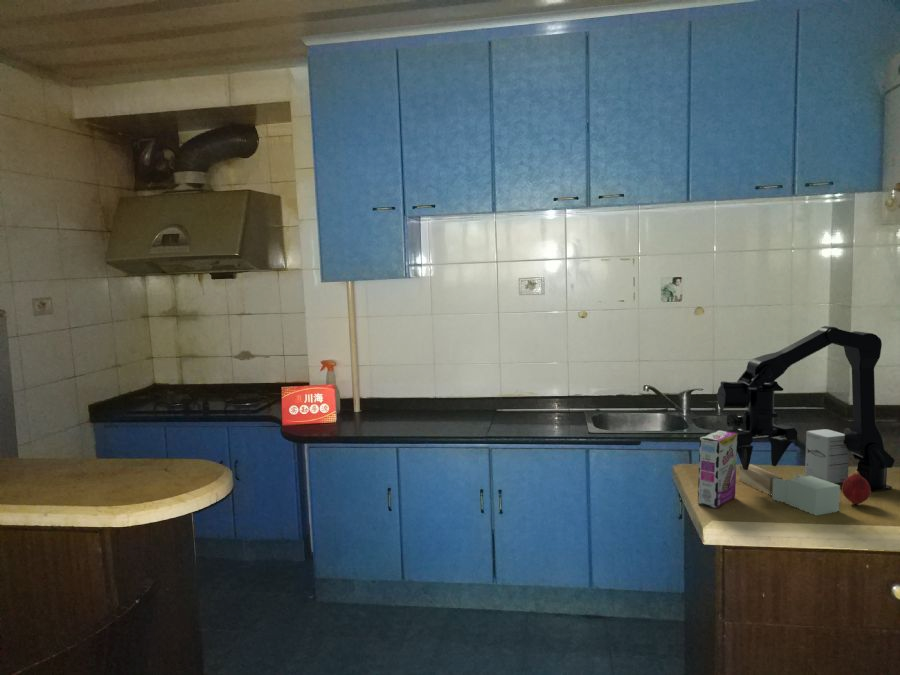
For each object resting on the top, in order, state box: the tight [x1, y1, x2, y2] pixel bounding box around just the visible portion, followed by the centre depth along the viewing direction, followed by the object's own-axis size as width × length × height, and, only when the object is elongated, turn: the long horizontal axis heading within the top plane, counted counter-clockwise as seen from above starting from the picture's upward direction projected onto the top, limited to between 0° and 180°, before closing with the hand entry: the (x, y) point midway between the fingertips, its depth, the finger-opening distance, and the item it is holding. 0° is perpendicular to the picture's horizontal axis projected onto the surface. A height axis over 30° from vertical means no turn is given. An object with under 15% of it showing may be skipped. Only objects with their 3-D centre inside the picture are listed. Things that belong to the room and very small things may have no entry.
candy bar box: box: [697, 430, 738, 509], centre depth 156 cm, size 11×5×16 cm, turn 134°
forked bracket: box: [771, 473, 841, 516], centre depth 152 cm, size 9×12×6 cm
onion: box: [841, 470, 872, 505], centre depth 152 cm, size 6×6×8 cm
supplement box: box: [804, 428, 850, 484], centre depth 171 cm, size 7×7×13 cm
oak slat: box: [738, 463, 783, 496], centre depth 166 cm, size 4×12×4 cm, turn 10°
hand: (759, 467), depth 165 cm, fingers open, 9 cm apart
